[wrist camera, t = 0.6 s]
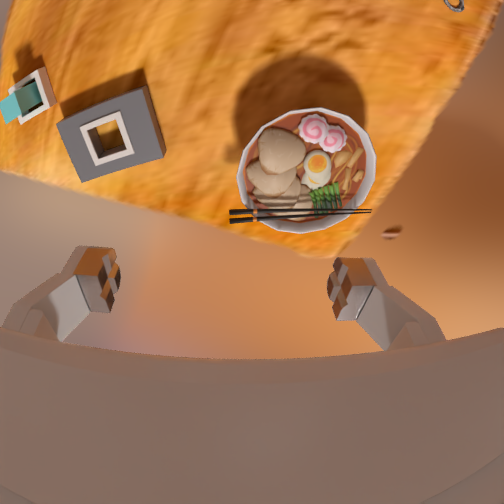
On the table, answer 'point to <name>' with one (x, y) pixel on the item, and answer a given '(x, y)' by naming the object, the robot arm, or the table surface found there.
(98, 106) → the socket block
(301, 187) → the ramen bowl
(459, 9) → the knife
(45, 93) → the white square frame
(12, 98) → the plug
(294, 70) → the table surface
